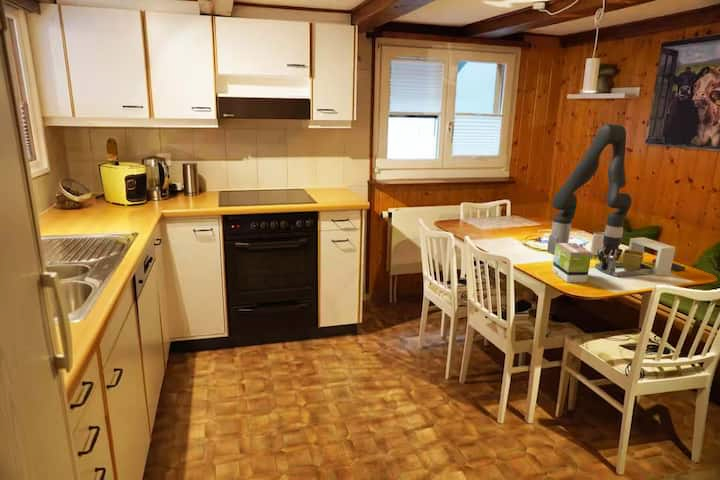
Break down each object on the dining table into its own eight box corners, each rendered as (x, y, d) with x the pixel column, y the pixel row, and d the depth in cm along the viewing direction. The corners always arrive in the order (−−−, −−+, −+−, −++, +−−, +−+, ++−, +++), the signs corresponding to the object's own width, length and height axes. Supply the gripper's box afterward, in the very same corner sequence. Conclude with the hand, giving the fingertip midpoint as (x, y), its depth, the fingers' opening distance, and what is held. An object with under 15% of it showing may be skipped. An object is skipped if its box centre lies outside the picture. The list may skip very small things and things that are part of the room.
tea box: (551, 271, 234) (555, 242, 230) (571, 271, 235) (575, 242, 231) (566, 282, 220) (571, 251, 216) (587, 283, 221) (592, 251, 217)
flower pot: (639, 274, 235) (642, 256, 232) (619, 270, 240) (622, 252, 237) (641, 269, 242) (645, 252, 239) (621, 265, 247) (625, 248, 244)
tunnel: (655, 275, 234) (661, 248, 231) (625, 263, 251) (630, 238, 247) (669, 273, 237) (675, 247, 233) (638, 262, 253) (643, 237, 250)
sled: (615, 276, 229) (617, 262, 227) (593, 267, 241) (595, 254, 239) (652, 273, 236) (655, 259, 234) (629, 264, 249) (631, 251, 247)
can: (598, 256, 261) (602, 234, 258) (587, 253, 266) (591, 232, 263) (605, 254, 265) (609, 233, 261) (594, 251, 270) (597, 230, 266)
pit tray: (676, 271, 241) (677, 267, 241) (652, 262, 254) (653, 259, 253) (684, 270, 243) (685, 267, 242) (659, 261, 255) (660, 258, 255)
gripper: (607, 237, 225) (601, 273, 230) (631, 236, 229) (624, 270, 234) (595, 233, 232) (589, 268, 237) (618, 232, 236) (612, 265, 241)
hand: (606, 269), depth 235 cm, fingers closed on sled, 3 cm apart
